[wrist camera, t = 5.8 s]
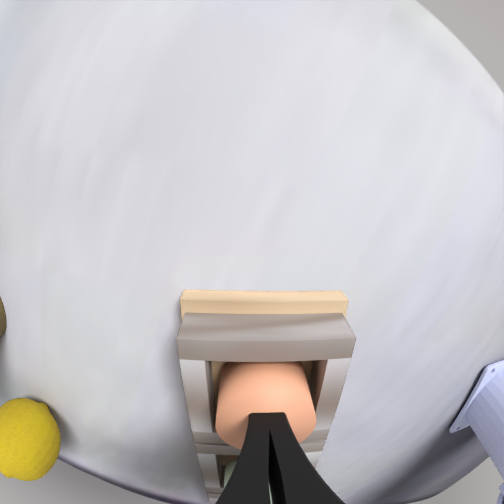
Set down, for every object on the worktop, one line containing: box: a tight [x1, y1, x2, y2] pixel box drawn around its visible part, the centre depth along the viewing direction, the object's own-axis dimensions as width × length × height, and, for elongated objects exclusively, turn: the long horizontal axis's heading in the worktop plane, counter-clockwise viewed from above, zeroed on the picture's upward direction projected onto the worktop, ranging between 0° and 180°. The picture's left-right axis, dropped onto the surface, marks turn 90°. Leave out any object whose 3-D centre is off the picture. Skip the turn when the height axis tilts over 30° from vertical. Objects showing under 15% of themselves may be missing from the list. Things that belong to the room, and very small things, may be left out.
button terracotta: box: [216, 361, 316, 450], centre depth 11 cm, size 4×4×3 cm
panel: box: [176, 290, 356, 504], centre depth 15 cm, size 22×7×3 cm, turn 179°
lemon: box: [0, 398, 61, 481], centre depth 12 cm, size 6×6×8 cm
